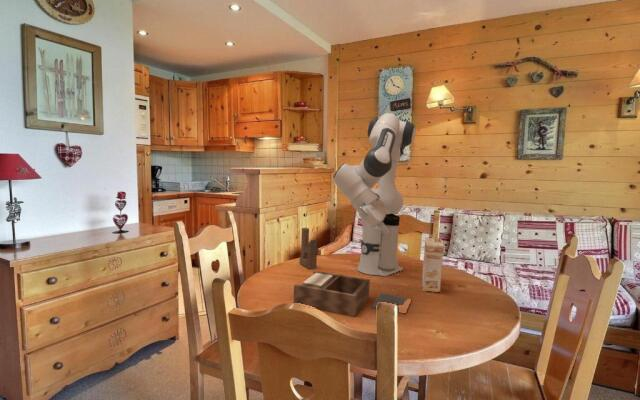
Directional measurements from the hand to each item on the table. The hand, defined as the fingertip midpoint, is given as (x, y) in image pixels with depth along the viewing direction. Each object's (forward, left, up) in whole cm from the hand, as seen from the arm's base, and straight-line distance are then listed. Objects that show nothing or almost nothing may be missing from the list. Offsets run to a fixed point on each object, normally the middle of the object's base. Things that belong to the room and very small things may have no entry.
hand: (391, 231), depth 128 cm
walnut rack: (+16, -12, -27) cm, 34 cm away
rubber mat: (-2, +1, -27) cm, 27 cm away
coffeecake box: (-30, -5, -27) cm, 41 cm away
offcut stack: (+19, -17, -27) cm, 38 cm away
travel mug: (0, -1, -14) cm, 14 cm away
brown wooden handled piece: (+2, -53, -27) cm, 60 cm away
